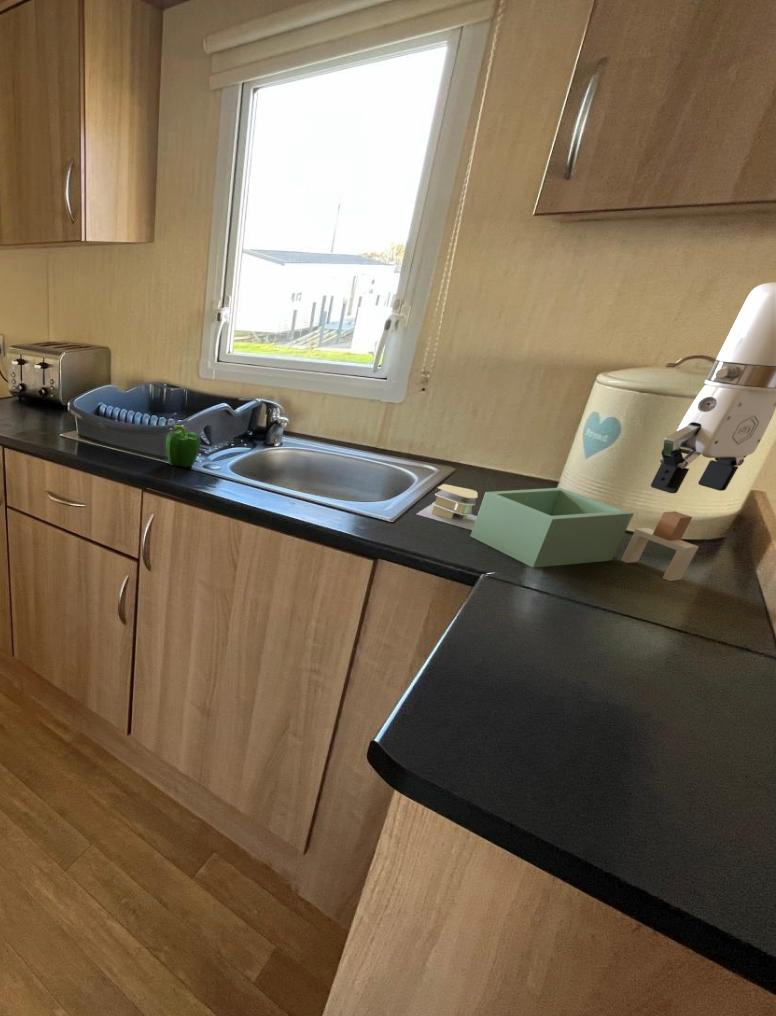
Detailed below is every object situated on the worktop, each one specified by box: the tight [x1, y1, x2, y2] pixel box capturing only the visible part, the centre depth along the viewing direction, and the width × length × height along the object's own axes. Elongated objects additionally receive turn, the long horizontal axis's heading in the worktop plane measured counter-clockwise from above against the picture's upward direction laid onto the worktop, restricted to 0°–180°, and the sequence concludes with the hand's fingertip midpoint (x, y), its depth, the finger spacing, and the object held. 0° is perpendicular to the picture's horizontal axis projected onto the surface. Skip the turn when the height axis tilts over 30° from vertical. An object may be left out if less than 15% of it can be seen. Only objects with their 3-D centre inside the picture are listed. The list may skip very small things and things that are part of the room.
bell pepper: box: [165, 425, 201, 468], centre depth 136 cm, size 8×8×10 cm
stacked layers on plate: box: [416, 483, 479, 531], centre depth 109 cm, size 10×9×6 cm
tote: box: [470, 487, 634, 569], centre depth 96 cm, size 16×12×9 cm
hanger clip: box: [620, 510, 699, 582], centre depth 89 cm, size 2×7×10 cm, turn 11°
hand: (687, 488), depth 85 cm, fingers open, 9 cm apart
